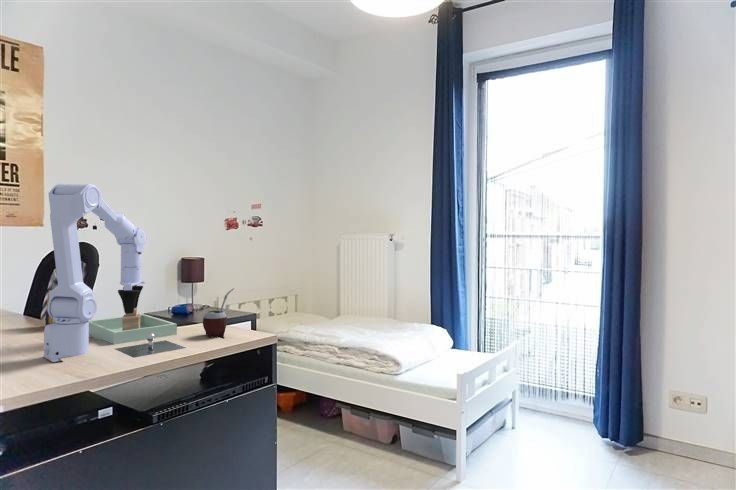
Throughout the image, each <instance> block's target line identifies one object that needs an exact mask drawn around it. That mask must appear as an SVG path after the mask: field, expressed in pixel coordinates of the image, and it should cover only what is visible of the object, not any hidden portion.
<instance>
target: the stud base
mask: <svg viewBox="0 0 736 490" xmlns="http://www.w3.org/2000/svg"><path fill="white" fill-rule="evenodd" d="M155 339H156V338H155V335H154V334H153V333H149V334H148V335H147V336H146V339H145V340H147V341H148V343H140V344H135V345H129V346H123V347H117V348H114V350H116V351H117V352H121V353H122V354H123V355H127V356H129V357H131V358H139V357H145V356H150V355H157V354H161V353H167V352H172V351H176V350H182V349H183V350H184V349H187V347H185V346H182V345H180V344H178V343H174V342H172V341H169V340H159V341H155Z"/></svg>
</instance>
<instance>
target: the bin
mask: <svg viewBox="0 0 736 490" xmlns="http://www.w3.org/2000/svg"><path fill="white" fill-rule="evenodd" d="M122 317H123V316H119V317H111V318H102V319H94V320H91V321H89V337H90V338H92V339H95V340H103V341H106V342H108V343H111V344H112V345H118V344H125V343H131V342H139V341H144V340H147V339H146V336H147V335H148V334H149V333H153V334H154V335H155V339H157V338H163V337H169V336H176V335H177V334H178V324H177V323H175V322H172V321H168V320H165V319H162V318H159V317H154V316H151V315H148V314H140V328H139V329H132V330H125V331H122ZM116 331H118V332H116Z"/></svg>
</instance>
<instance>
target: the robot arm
mask: <svg viewBox="0 0 736 490" xmlns="http://www.w3.org/2000/svg"><path fill="white" fill-rule="evenodd" d="M48 201H49V209H50V213H49V220H50V221H49V222H50V228H51V229H50V230H51V237H52V238H51V239H52V244H53V254H54V261H55V262H54V263H55V271H56V279H57V286H55V287H54V288H53V289H52V290H50V291H51V292H50V293H49V303H48V314H49V316H50V317H51V318H53V322H56V323H54V324H49V325H46V326H45V327H44V330H43V354H42V355H43V356H42V357H43V358H44V359H47V360H48V361H49V362H51V363H58V362H63V358H69V357H77V356H83V355H85V354H88V353H89V352H90V351H89V349H90V340H89V337H90V336H89V321H92V319H93V318H94V316H95V315H96V313H97V309H98V305H97V301H96V299H95V297H94V294H93V293H94V292H93V290H92V288H90V286H88V285H87V284H86V283H84V280H83V278H84V277H83V271H82V262H81V261H82V259H81V250H80V242H79V234H78V224H77V223H78V221H79V220H80V219H81V218H83V217H85V216H86V215H88V214H89V213H93V214H94V215H95V216H97V217H98V218H99V219H100V220H102V221H103V222H104V227H105V228H106V229H107V230H108V231H109V232H110V233H111V234H112V235H113V236H114V238H115V239H116V243H117V245H119V246H120V281H119V285H121V286H122V289H118V290H117V293H118V295H119V297H120V299H121V301H122V307H123V312H124V315H125V314H130V313H133V311H134V308H137V309H138V305H139V304H138V303H139V301H140V300H139V299H140V295H141V292H142V290H143V288H144V285H143V284H146V282H147V281H146V280H142V278H143V277H142V276H143V275H142V270H143V269H142V268H143V267H142V266H143V265H142V264H143V263H142V260H143V258H142V257H143V255H142V254H143V252H144V250H145V244H146V241H147V235H146V232H145V231H144V230H143V229H142V228H140V227H136V226H135V225H134V223H132V222H131V221H130V220H129V219H127V217H125V214H124V213H123V212H122V213H121V212H115V211H114V210H113V209H112V208H111V207H110V206H109V205H108V203H107V202H106V201H105V200H104V199H103V194H102V191H101V190H100V189H99V188H98V187H97V186H96V185H94V184H93V183H88V184H66V183H57V184H55V185H54V186H53V187H52V188H51V189H50V190H49V192H48Z"/></svg>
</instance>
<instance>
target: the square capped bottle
mask: <svg viewBox="0 0 736 490" xmlns="http://www.w3.org/2000/svg"><path fill="white" fill-rule="evenodd" d="M140 315H141V313H138V307H137V308H134V311H133V313H130V314H125V313H124V314H123V315H122V316H121V317H122V331H125V330H132V329H139V328H140Z"/></svg>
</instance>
